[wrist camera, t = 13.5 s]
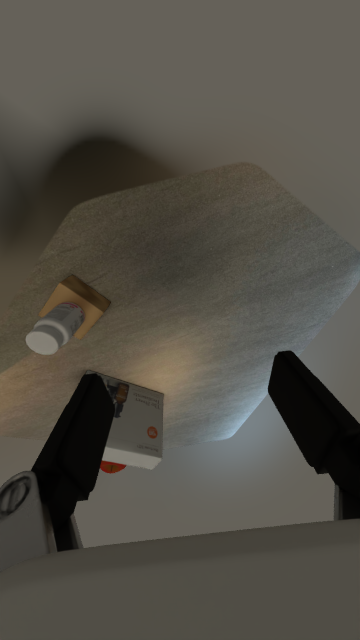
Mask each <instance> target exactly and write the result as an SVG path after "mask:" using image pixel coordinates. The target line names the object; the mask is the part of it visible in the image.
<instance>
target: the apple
mask: <svg viewBox="0 0 360 640" xmlns="http://www.w3.org/2000/svg"><path fill="white" fill-rule="evenodd" d="M125 467H126V465H125V464H119V463H114V462H109V461H103V460H102V462H101V465H100V468H101V470H102V471H104V472H106V473H115V472H118V471H120V470H122V469H124V468H125Z"/></svg>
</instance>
